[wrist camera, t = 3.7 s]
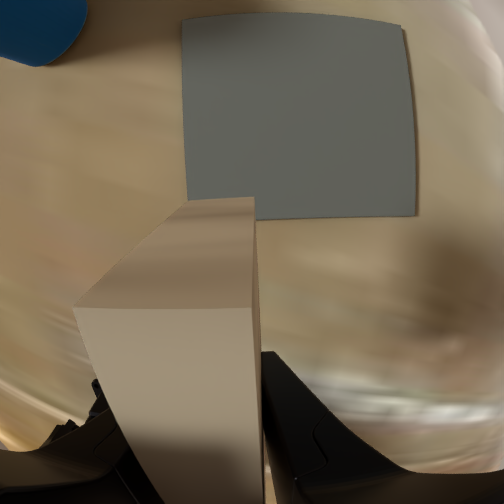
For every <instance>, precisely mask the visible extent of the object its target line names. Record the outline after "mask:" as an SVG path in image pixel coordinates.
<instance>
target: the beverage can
mask: <svg viewBox="0 0 504 504" xmlns="http://www.w3.org/2000/svg"><path fill="white" fill-rule="evenodd" d="M87 11H88V6H87V1H86V0H0V57H4V58H7V59H10V60H13V61H16V62H19V63H23V64H26V65H29V66H33V67H37V66H42V65H45V64H48V63H50V62H52V61H53V60H55V59H56V58H58V57H59V56H60V55H62V54H63V53H64V52H65V51H66V50H67V49H68V48H69V47H70V46H71V44H72V43H73V42H74V41H75V39H76V38H77V36H78V35H79V33H80V31H81V30H82V28H83V25H84V23H85V20H86V17H87Z"/></svg>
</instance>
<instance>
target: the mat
mask: <svg viewBox="0 0 504 504" xmlns="http://www.w3.org/2000/svg"><path fill="white" fill-rule="evenodd" d="M182 97H183V126H184V147H185V165H186V181H187V195H188V201H190V200H205V199H221V198H239V197H254V199H255V220H265V219H290V218H322V217H366V216H415V188H416V168H415V136H414V120H413V107H412V97H411V87H410V79H409V71H408V64H407V58H406V52H405V46H404V40H403V35H402V30H401V25H397V24H392V23H387V22H381V21H375V20H369V19H362V18H355V17H347V16H337V15H326V14H311V13H243V14H228V15H217V16H208V17H199V18H192V19H185V20H182Z"/></svg>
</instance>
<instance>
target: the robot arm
mask: <svg viewBox="0 0 504 504" xmlns="http://www.w3.org/2000/svg"><path fill="white" fill-rule="evenodd" d="M261 386H262V410H263V430H264V435H265V441H266V447H267V452H268V458H269V463H270V469H271V474H272V480H273V485H274V490H275V496H276V501H277V504H504V469H503V470H499V471H494V472H487V473H473V474H432V473H416V472H412V471H409V470H406V469H404V468H402V467H400V466H398V465H397V464H395V463H394V462H392V461H391V460H389V459H388V458H386V457H385V456H384V455H382V454H381V453H379V452H378V451H377V450H375V449H374V448H373V447H371V446H370V445H368V444H367V443H366V442H364V441H363V440H362V439H360V438H359V437H358V436H357V435H355V434H354V433H353V432H352V431H350V430H349V429H348V428H347V427H346V426H345V425H344V424H343V423H342V422H341V421H340V420H339V419H337V418H336V417H335V415H334V414H333V413H332V412H331V411H329V409H328V408H327V407H326V406H325V405H324V404H323V403H322V402H321V401H320V400H319V399H318V398H317V397H316V396H315V395H314V394H313V393H312V392H311V390H310V389H309V388H308V387H307V386H306V385H305V384H304V383H303V382H302V381H301V380H300V379H299V378H298V377H297V376H296V374H295V373H294V372H293V371H292V370H291V369H290V368H289V367H288V366H287V365H286V364H285V362H284V361H283V360H282V359H281V358H280V357H279V356H278V355H277V354H276V353H275V352H274V351H266V352H261ZM92 387H93V390H94V392H95V395H96V397H97V399H96V401H95V403H94V404H93V406H92V408H91V409H90V411H89V417H88V418H87V420H86V422H85V424H84V425H82V426H80V427H79V426H77V425H76V423H75V422H73V421H72V420H70V419H69V420H68V422H67V423H66V424H65V425H63V424H62V425H56V427H55V428H54V430H53V431H52V433H51V435H50V436H49V437H48V439H47V440H46V441H45V442H44V443H43V444H42V446H41V447H40V448H39V449H36V450H33V451H27V452H15V451H8V450H1V449H0V504H165V503H164V501H163V500H162V498H161V497H160V495H159V494H158V492H157V491H156V489H155V488H154V486H153V485H152V483H151V481H150V480H149V478H148V477H147V475H146V473H145V472H144V470H143V468H142V467H141V465H140V463H139V461H138V460H137V458H136V456H135V455H134V453H133V451H132V449H131V447H130V445H129V444H128V442H127V440H126V438H125V436H124V434H123V432H122V430H121V428H120V426H119V424H118V422H117V420H116V418H115V416H114V414H113V412H112V410H111V408H110V406H109V404H108V401H107V399H106V397H105V395H104V393H103V390H102V388H101V386H100V383H99V381H98V379H94V380H93V382H92Z"/></svg>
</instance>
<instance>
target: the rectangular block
mask: <svg viewBox="0 0 504 504" xmlns="http://www.w3.org/2000/svg"><path fill="white" fill-rule="evenodd" d="M72 309H73V312H74V315H75V318H76V322H77V325H78V328H79V331H80V334H81V337H82V339H83V342H84V345H85V348H86V350H87V353H88V356H89V358H90V361H91V364H92V366H93V369H94V371H95V374H96V376H97V379H98V381H99V383H100V386H101V388H102V390H103V393H104V395H105V397H106V399H107V401H108V404H109V406H110V408H111V410H112V412H113V414H114V416H115V418H116V420H117V422H118V424H119V426H120V428H121V430H122V432H123V434H124V436H125V438H126V440H127V442H128V444H129V445H130V447H131V449H132V451H133V453H134V455H135V456H136V458H137V460H138V461H139V463H140V465H141V467H142V468H143V470H144V472H145V473H146V475H147V477H148V478H149V480H150V481H151V483H152V485H153V486H154V488H155V489H156V491H157V492H158V494H159V495H160V497H161V498H162V500H163V501H164V503H165V504H266V477H265V435H264V430H263V410H262V386H261V331H260V308H259V285H258V263H257V241H256V220H255V199H254V197H239V198H221V199H205V200H190V201H187V202H186V203H185V204H184V205H183V206H181V207H180V208H179V209H178V210H177V211H175V212H174V213H173V214H172V215H171V216H170V217H168V218H167V219H166V220H165V221H164V222H163V223H161V224H160V225H159V226H158V227H157V228H156V229H155V230H153V231H152V232H151V233H150V234H149V235H148V236H147V237H145V238H144V239H143V240H142V241H141V242H140V243H139V244H138V245H137V246H135V247H134V248H133V249H132V250H131V251H130V252H129V253H128V254H127V255H126V256H124V257H123V258H122V259H121V260H120V261H119V262H118V263H117V264H116V265H115V266H114V267H113V268H112V269H111V270H109V271H108V272H107V273H106V274H105V275H104V276H103V277H102V278H101V279H100V280H99V281H98V282H97V283H96V284H95V285H94V286H93V287H92V288H91V289H90V290H89V291H88V292H87V293H86V294H85V295H84V296H83V297H82V298H81V299H80V300H79V301H78V302H77V303H76V304H75V305H74V306H73V307H72Z"/></svg>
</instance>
